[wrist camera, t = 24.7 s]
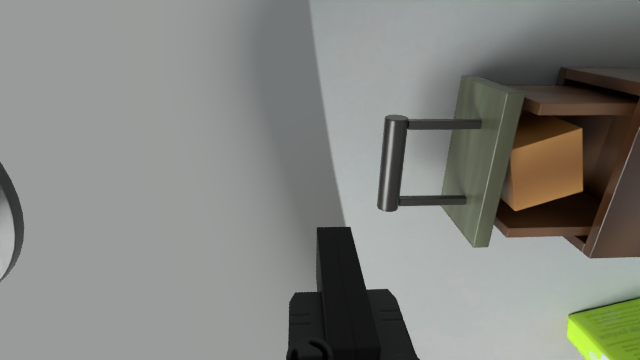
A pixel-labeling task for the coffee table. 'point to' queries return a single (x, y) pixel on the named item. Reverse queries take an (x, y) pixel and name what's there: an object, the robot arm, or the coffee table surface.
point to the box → (607, 332)
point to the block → (543, 162)
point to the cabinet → (614, 172)
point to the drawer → (494, 153)
